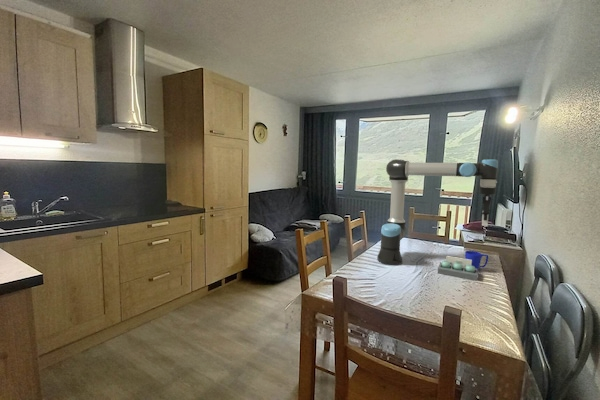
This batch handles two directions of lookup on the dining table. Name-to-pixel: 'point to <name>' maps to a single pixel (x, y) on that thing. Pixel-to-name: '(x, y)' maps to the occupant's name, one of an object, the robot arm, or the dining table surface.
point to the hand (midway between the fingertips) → (484, 223)
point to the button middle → (457, 266)
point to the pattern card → (458, 260)
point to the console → (457, 272)
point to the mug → (475, 258)
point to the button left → (445, 264)
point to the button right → (470, 268)
